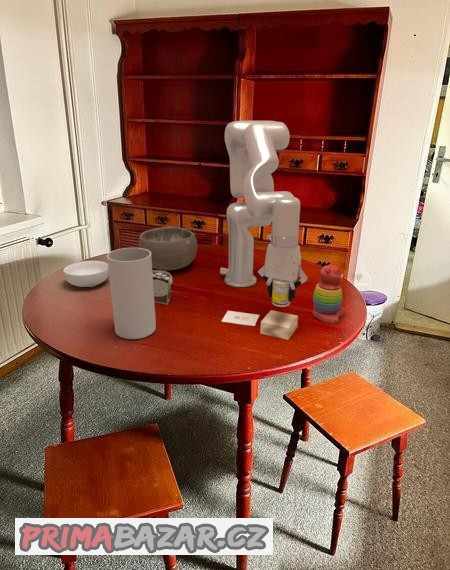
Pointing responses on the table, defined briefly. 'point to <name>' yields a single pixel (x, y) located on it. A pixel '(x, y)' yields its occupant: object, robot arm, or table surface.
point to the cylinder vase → (132, 292)
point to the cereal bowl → (86, 273)
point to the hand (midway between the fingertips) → (281, 297)
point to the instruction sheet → (240, 318)
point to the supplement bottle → (280, 293)
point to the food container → (162, 286)
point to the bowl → (169, 247)
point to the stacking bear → (329, 295)
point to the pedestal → (279, 324)
